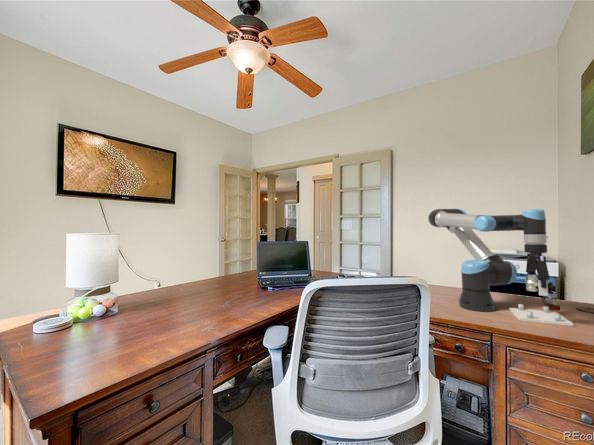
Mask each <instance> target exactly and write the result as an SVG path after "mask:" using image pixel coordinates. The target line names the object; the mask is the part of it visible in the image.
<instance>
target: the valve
mask: <svg viewBox="0 0 594 445" xmlns="http://www.w3.org/2000/svg"><path fill="white" fill-rule="evenodd" d="M537 278H538V276H537V275H536V276H528V275H526V276H525V286H526V287H525V289H526V291H527V292H535V293H536V292H537V293H538V294H539V286H538V280H537ZM547 285H548V295H549V294H550V295H554V292H553V291H554V290H556V287H555V286H553V285H554V283H553V282H551V281H549V282H547Z"/></svg>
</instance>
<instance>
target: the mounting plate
mask: <svg viewBox="0 0 594 445" xmlns="http://www.w3.org/2000/svg"><path fill="white" fill-rule="evenodd" d="M517 304H518V305H517V308H516V307H509V311H510V312H511V313H512V314H513V315H514V316H515V317H516V318H517V319H518V320H519V321H522V322H529V323H530V322H532V323H542V324H547V325H548V324H550V325H561V326H569V327H574V323H573V322H572V321H570V320H569V319H567V318H566V317H564V316H562V315H561V314H560V313H558V312H557V311H552V310H551V311H550V306H548V305H543V306H542V310H539V309H528V308H525V306H524V303H517Z"/></svg>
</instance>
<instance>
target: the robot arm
mask: <svg viewBox="0 0 594 445" xmlns="http://www.w3.org/2000/svg"><path fill="white" fill-rule="evenodd" d="M427 218H428V222H429V224H430V225H431V226H433V227H435V228H446V229H447V230H448V231H449V233H451V234H455V236H456V237H457V238H458V239H459V241H460V243H462V244H463V245H464V247H465V249H467V251H468V252H469V253H470V255H471V256H472V257H473V258H474V259H469V260H466V261H464V262H462V263H461V270H460V271H461V288H462V290H461V293H460V295H459V296H460V297H459V299H458V306H459V307H461V308H463V309H466V310H471V311H476V312H493V311H495V310H496V304H495V302H494V299H493V297H492V294H491V287H490V286H501V285H502V286H505V285H509V284H512V283H514V282H515V281H516V279H517V277H518V269H517V267H516V265H514V263H512V262H510V261H508V260H504V259H503V258H502V257H501V256H500V255H499V254H495V253H493V252H492V251H491V249H489V246H487V245H486V244H485V243H484V241H482V240H481V238H480V237H479V236H478V235H477V233H476V232H474V230H476V231H479V232H489V233H490V232H513V231H523V243H525V244H524V248H523V249H524V252H525V253H527V254H526V257H527V259H526V266H525V267H526V268H525V272H526V273H527V276H536V277H537V280H536V281H537V282H538V286H539V289H538V291H539V293H538V295H539V296H545V297H549V293H548V291H549V286H548V285H547V283H548V281H549V280H550V274H549V269H548V265H547V260H546V259H547V257H546V256H545V255H544V256H543V254H546V253H548V245H547V244H546V243H547V239H549V236H547V230H546V229H547V227H546V226H547V225H546V224H547V223H546V221H547V218H546V212H545V210H544V209H543V208H534V209H524V210H522V214H507V215H506V214H505V215H503V214H502V215H486V214H485V215H484V214H482V215H481V214H472V213H471V214H469V213H467V212H466V211H465V210H463V209H461V208H437V209H434V210H432V211H431V212H430V213H429V214H428V217H427Z"/></svg>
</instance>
